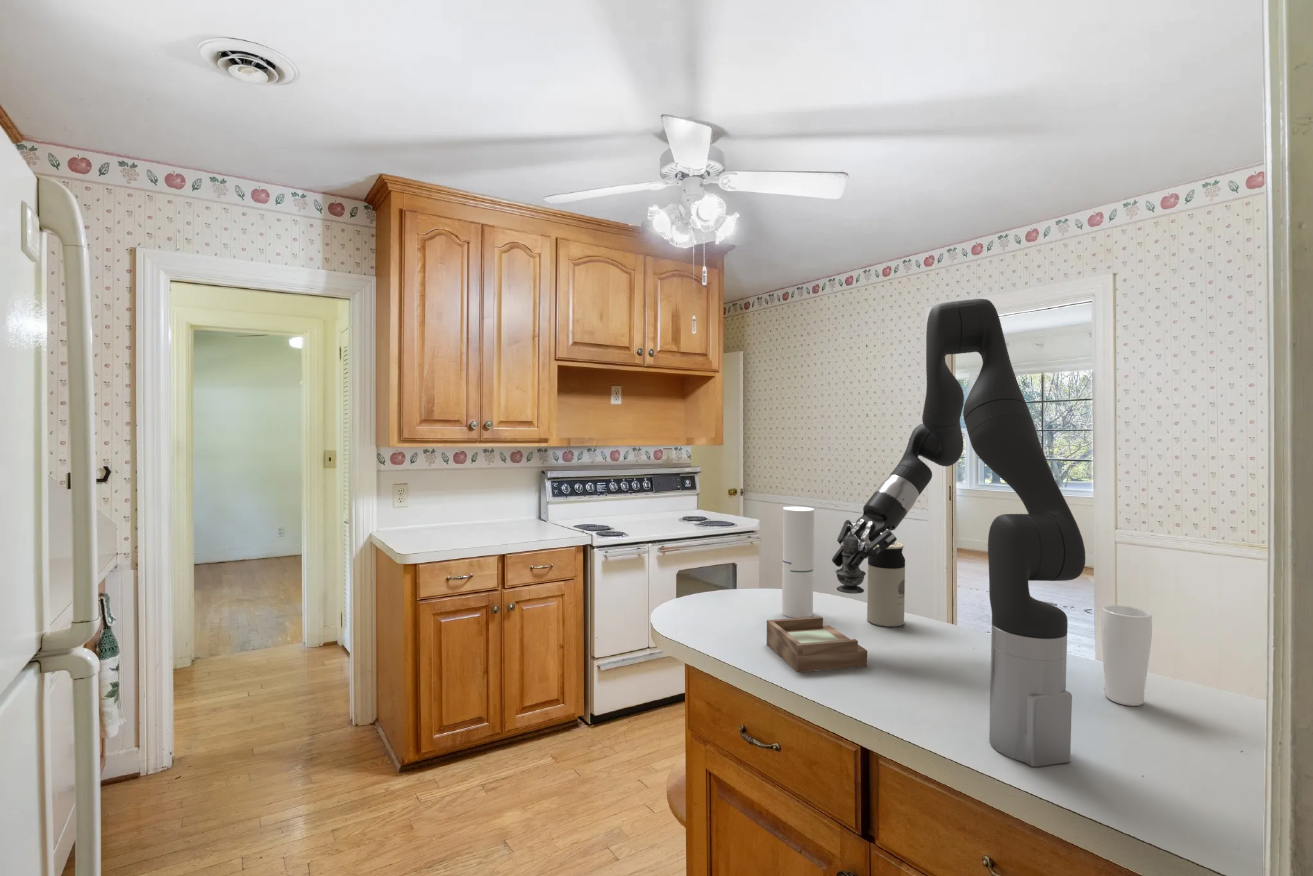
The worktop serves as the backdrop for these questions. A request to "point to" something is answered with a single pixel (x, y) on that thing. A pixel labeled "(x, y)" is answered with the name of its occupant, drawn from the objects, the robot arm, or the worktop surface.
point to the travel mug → (886, 587)
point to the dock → (813, 645)
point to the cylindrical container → (798, 562)
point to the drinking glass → (1125, 652)
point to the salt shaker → (844, 573)
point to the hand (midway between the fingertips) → (842, 566)
